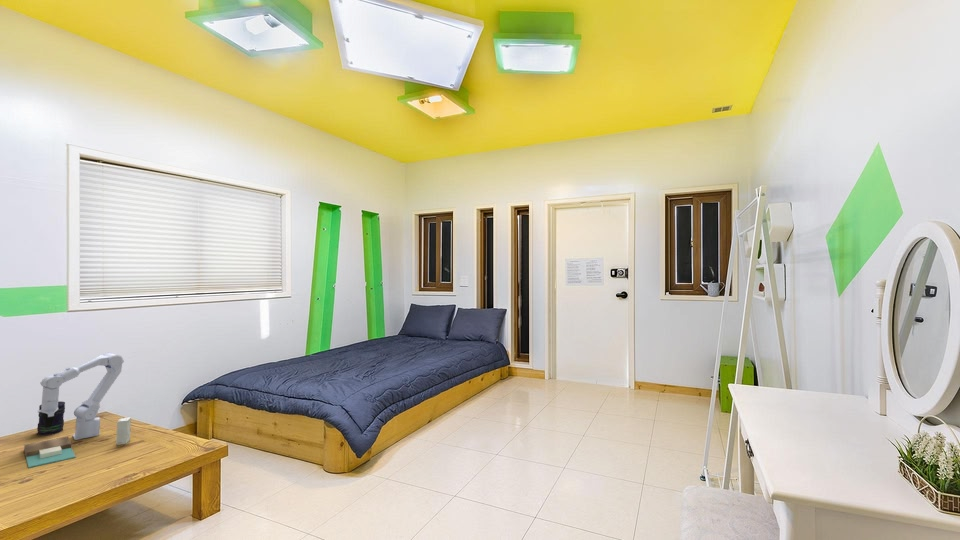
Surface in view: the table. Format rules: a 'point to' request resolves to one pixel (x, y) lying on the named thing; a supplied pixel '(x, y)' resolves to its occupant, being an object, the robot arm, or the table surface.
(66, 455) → the teal mat
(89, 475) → the table surface
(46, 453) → the ceramic tile
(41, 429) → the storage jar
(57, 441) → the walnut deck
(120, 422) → the skincare box
